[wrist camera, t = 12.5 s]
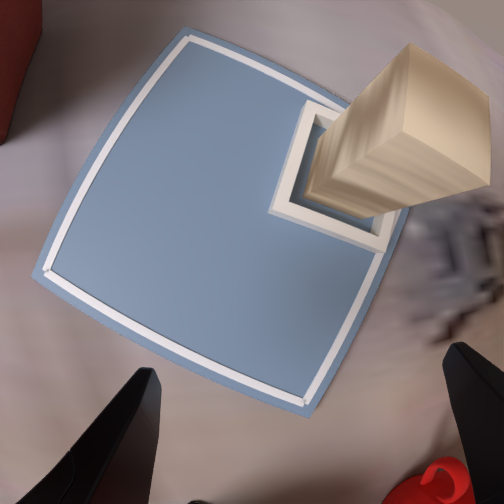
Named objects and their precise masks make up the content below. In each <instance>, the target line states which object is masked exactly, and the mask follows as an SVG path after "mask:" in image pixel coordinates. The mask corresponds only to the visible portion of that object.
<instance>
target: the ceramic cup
mask: <svg viewBox="0 0 504 504" xmlns="http://www.w3.org/2000/svg"><path fill="white" fill-rule="evenodd" d="M438 468H442V469H444V470H446V471H437V469H438ZM436 471H437V472H436ZM382 504H475V498H474V493H473V488H472V483H471V478H470V474H469V473H468V470H467V468H466V467H465V465H464V464H463V463H462V462H461V461H460V460H458V459H457V458H454V457H442V458H439V459H437V460H435V461H434V462H433V463H431V464H430V465H429V466H428V468H427V469H426V471H425V473H424V474H419V475H416V476H413V477H411V478H409V479H407V480H405V481H404V482H402V483H401V484H399V485H398V486H397V487H396V488H395V489H393V490H392V491H391V492H390V493H389V494H388V496H387V497H386V498H385V500H384V501H383V503H382Z"/></svg>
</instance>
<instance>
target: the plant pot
mask: <svg viewBox="0 0 504 504" xmlns="http://www.w3.org/2000/svg"><path fill="white" fill-rule="evenodd" d="M41 33H42V0H0V145H1V144H2V143H3V142H4V140H5V138H6V136H7V133H8V129H9V125H10V122H11V118H12V114H13V110H14V107H15V104H16V100H17V97H18V94H19V90H20V87H21V84H22V81H23V79H24V76H25V73H26V70H27V67H28V65H29V62H30V60H31V57H32V55H33V52H34V50H35V47H36V45H37V42H38V40H39V38H40V35H41Z"/></svg>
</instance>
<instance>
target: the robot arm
mask: <svg viewBox="0 0 504 504" xmlns="http://www.w3.org/2000/svg"><path fill="white" fill-rule="evenodd" d="M442 366H443V371H444V375H445V379H446V384H447V388H448V393H449V398H450V402H451V407H452V410H453V414H454V417H455V420H456V424H457V427H458V431H459V434H460V438H461V441H462V445H463V449H464V453H465V457H466V461H467V465H468V469H469V474H470V478H471V483H472V488H473V493H474V498H475V504H504V372H503V371H501V370H500V369H499V368H498V367H496V366H495V365H494V364H492V363H491V362H490V361H488V360H487V359H486V358H484V357H483V356H482V355H480V354H479V353H478V352H477V351H475V350H474V349H472V348H471V347H470V346H468V345H467V344H466V343H464V342H456V343H452V344H451V345H450V347H449V349H448V351H447V353H446V355H445V357H444V359H443V363H442ZM161 391H162V390H161V384H160V381H159V379H158V377H157V374H156V372H155V370H154V369H153V368H147V367H141V368H139V369H138V370H137V371H136V372H135V373H134V374H133V376H132V377H131V378H130V379H129V380H128V381H127V383H126V384H125V385H124V386H123V387H122V388H121V390H120V391H119V392H118V393H117V394H116V395H115V397H114V398H113V399H112V400H111V401H110V403H109V404H108V405H107V406H106V407H105V408H104V410H103V411H102V412H101V413H100V414H99V415H98V417H97V418H96V419H95V420H94V421H93V422H92V424H91V425H90V426H89V427H88V428H87V430H86V431H85V432H84V433H83V434H82V435H81V437H80V438H79V439H78V440H77V441H76V443H75V444H74V445H73V446H72V447H71V448H70V451H68V452H67V453H66V454H65V455H64V457H63V458H62V459H61V460H60V461H59V462H58V463H57V465H56V466H55V467H54V468H53V469H52V470H51V471H50V472H49V473H48V474H47V475H46V476H45V477H44V478H43V479H42V480H41V481H40V482H39V483H38V484H37V485H36V486H35V487H33V488H32V489H31V490H30V491H29V492H28V493H27V494H26V495H25V496H24V497H23V498H21V499H20V500H19V501H18V502H17V503H16V504H148V501H149V494H150V488H151V481H152V475H153V468H154V462H155V456H156V450H157V444H158V438H159V424H160V407H161ZM188 504H198V503H195V502H190V503H188Z"/></svg>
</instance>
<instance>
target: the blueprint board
mask: <svg viewBox="0 0 504 504" xmlns="http://www.w3.org/2000/svg"><path fill="white" fill-rule="evenodd" d="M307 100H310V101H312V102H315V103H317V104H320V105H322V106H324V107H327V108H329V109H331V110H333V111H336V112H338V113H340V114H342V113H343V112H344V111H345V109H346V108H347V107H348V106H349V105H350V104H348V103H346V102H345V101H343V100H341V99H340V98H338V97H336V96H335V95H333V94H331V93H330V92H328V91H326V90H324V89H323V88H321V87H319V86H317V85H316V84H314V83H312V82H310V81H308V80H306V79H305V78H303V77H301V76H299V75H297V74H295V73H293V72H291V71H289V70H287V69H285V68H283V67H281V66H279V65H277V64H275V63H273V62H271V61H269V60H267V59H265V58H263V57H261V56H258V55H256V54H254V53H252V52H249V51H247V50H245V49H243V48H240V47H238V46H236V45H233V44H231V43H228V42H226V41H224V40H221V39H219V38H216V37H213V36H211V35H208V34H206V33H203V32H200V31H197V30H195V29H192V28H189V27H186V26H184V27H183V28H182V30H181V31H180V32H179V33H178V34H177V35H176V36H175V37H174V38H173V40H172V41H171V42H170V43H169V44H168V45H167V47H166V48H165V49H164V50H163V51H162V53H161V54H160V55H159V56H158V57H157V59H156V60H155V61H154V62H153V64H152V65H151V66H150V67H149V69H148V70H147V71H146V72H145V74H144V75H143V76H142V78H141V79H140V80H139V82H138V83H137V84H136V86H135V87H134V88H133V90H132V91H131V92H130V94H129V95H128V97H127V98H126V99H125V101H124V102H123V104H122V105H121V106H120V108H119V109H118V111H117V112H116V114H115V115H114V117H113V118H112V120H111V121H110V123H109V124H108V126H107V127H106V129H105V130H104V132H103V134H102V135H101V137H100V138H99V140H98V142H97V143H96V145H95V147H94V148H93V150H92V152H91V153H90V155H89V157H88V158H87V160H86V162H85V163H84V165H83V167H82V169H81V171H80V172H79V174H78V176H77V178H76V180H75V181H74V183H73V185H72V187H71V189H70V191H69V193H68V195H67V197H66V199H65V201H64V203H63V205H62V207H61V209H60V211H59V213H58V215H57V217H56V219H55V221H54V223H53V226H52V228H51V230H50V232H49V234H48V237H47V239H46V241H45V244H44V246H43V248H42V251H41V253H40V255H39V258H38V260H37V263H36V265H35V268H34V271H33V273H32V276H31V278H33V279H34V280H35V281H37V282H38V283H40V284H41V285H43V286H44V287H45V288H47V289H48V290H50V291H51V292H53V293H54V294H56V295H57V296H59V297H60V298H62V299H63V300H65V301H66V302H68V303H69V304H71V305H73V306H74V307H76V308H77V309H79V310H80V311H82V312H84V313H85V314H87V315H88V316H90V317H92V318H93V319H95V320H97V321H98V322H100V323H102V324H103V325H105V326H107V327H108V328H110V329H112V330H114V331H115V332H117V333H119V334H121V335H122V336H124V337H126V338H128V339H130V340H131V341H133V342H135V343H137V344H139V345H141V346H142V347H144V348H146V349H148V350H150V351H152V352H154V353H156V354H158V355H160V356H162V357H164V358H166V359H167V360H169V361H172V362H174V363H176V364H178V365H180V366H182V367H184V368H186V369H188V370H190V371H192V372H194V373H196V374H199V375H201V376H203V377H205V378H207V379H210V380H212V381H214V382H216V383H219V384H221V385H223V386H225V387H228V388H230V389H232V390H235V391H237V392H240V393H242V394H245V395H247V396H249V397H252V398H254V399H257V400H260V401H262V402H265V403H267V404H270V405H273V406H275V407H278V408H281V409H283V410H286V411H289V412H292V413H295V414H298V415H300V416H303V417H306V418H310V416H311V414H312V413H313V411H314V409H315V408H316V406H317V404H318V403H319V401H320V399H321V398H322V396H323V394H324V393H325V391H326V389H327V387H328V386H329V384H330V382H331V380H332V379H333V377H334V375H335V373H336V371H337V370H338V368H339V366H340V364H341V362H342V360H343V358H344V357H345V355H346V353H347V351H348V349H349V347H350V345H351V343H352V341H353V339H354V337H355V335H356V333H357V331H358V329H359V327H360V325H361V323H362V321H363V319H364V317H365V315H366V313H367V311H368V308H369V306H370V304H371V302H372V300H373V298H374V295H375V293H376V291H377V289H378V287H379V284H380V282H381V280H382V277H383V275H384V273H385V270H386V268H387V266H388V263H389V261H390V259H391V256H392V254H393V251H394V249H395V246H396V244H397V241H398V239H399V236H400V233H401V231H402V228H403V225H404V223H405V220H406V217H407V215H408V212H409V209H410V207H406V208H402V209H398V210H396V211H395V216H394V220H393V225H392V229H391V233H390V237H389V241H388V245H387V249H386V253H373V252H371V251H368V250H366V249H363V248H361V247H358V246H355V245H353V244H350V243H348V242H345V241H342V240H340V239H337V238H335V237H332V236H329V235H327V234H324V233H321V232H319V231H316V230H313V229H310V228H308V227H305V226H302V225H300V224H297V223H294V222H291V221H289V220H286V219H283V218H280V217H278V216H275V215H272V214H269V213H268V210H269V207H270V204H271V201H272V198H273V195H274V192H275V189H276V186H277V183H278V180H279V177H280V174H281V171H282V168H283V165H284V161H285V158H286V155H287V152H288V149H289V146H290V143H291V140H292V137H293V134H294V131H295V128H296V125H297V121H298V118H299V115H300V112H301V109H302V107H303V106H304V104H305V103H306V101H307ZM326 130H327V129H325V128H323V127H320V126H318V125H315V124H312V127H311V131H310V134H309V137H308V140H307V144H306V147H305V150H304V154H303V157H302V160H301V163H300V167H299V170H298V173H297V176H296V179H295V183H294V186H293V189H292V192H291V195H290V199H289V202H291V203H294V204H297V205H299V206H302V207H305V208H307V209H310V210H312V211H315V212H318V213H320V214H323V215H325V216H328V217H331V218H333V219H336V220H338V221H341V222H343V223H346V224H348V225H351V226H353V227H356V228H358V229H360V230H363V231H365V232H368V233H370V231H371V227H372V223H373V219H374V216H372V217H369V218H365V219H358V218H356V217H353V216H350V215H348V214H345V213H343V212H340V211H337V210H335V209H332V208H329V207H327V206H324V205H321V204H318V203H316V202H313V201H310V200H307V199H305V198H302V196H303V192H304V189H305V185H306V182H307V178H308V174H309V171H310V167H311V163H312V160H313V156H314V152H315V148H316V145H317V141H318V138H319V137H320V136H321V135H322V134H323V133H324V132H325V131H326Z"/></svg>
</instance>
